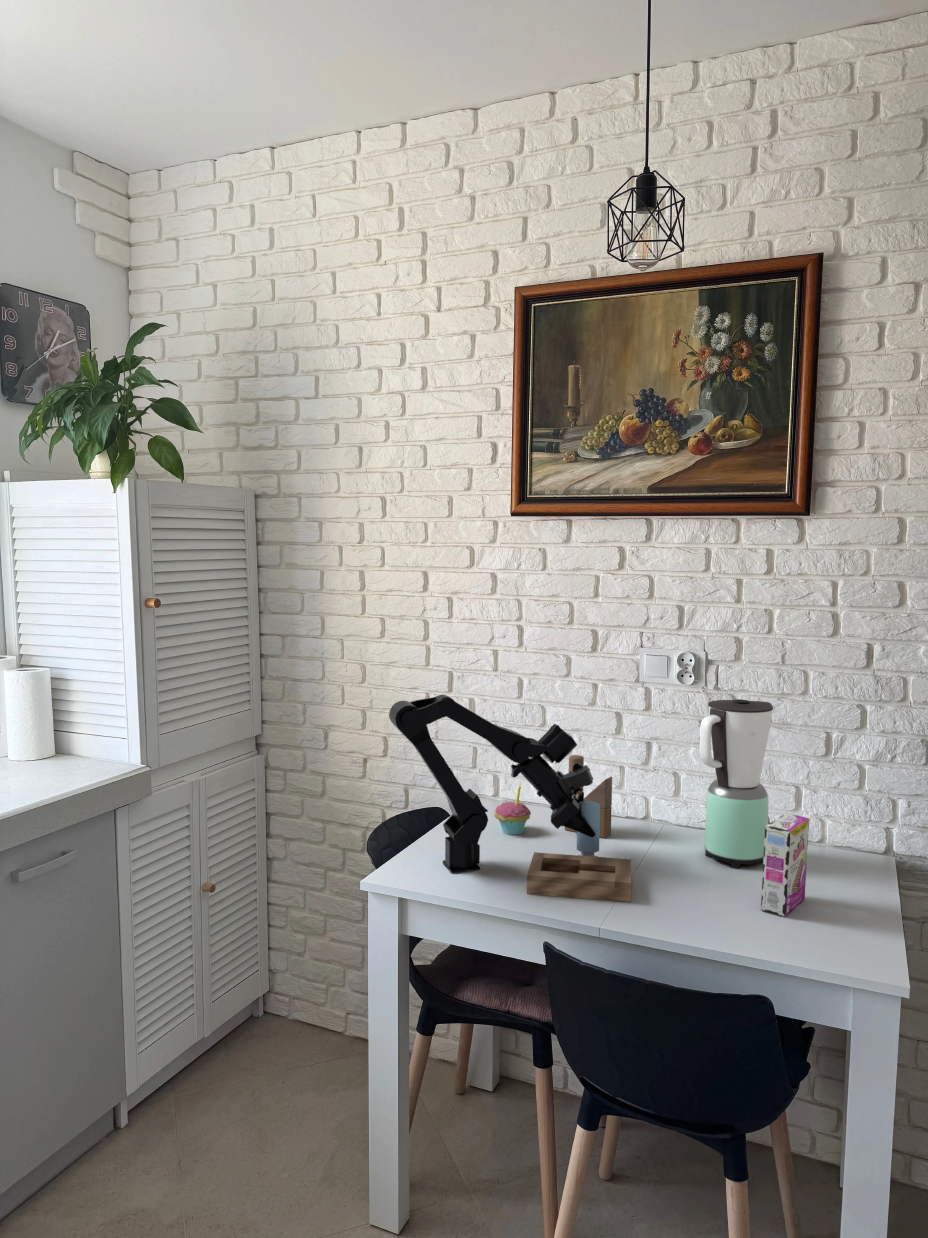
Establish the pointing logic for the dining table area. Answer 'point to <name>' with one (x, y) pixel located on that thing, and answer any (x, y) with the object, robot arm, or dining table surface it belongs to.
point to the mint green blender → (736, 780)
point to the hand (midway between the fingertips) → (594, 832)
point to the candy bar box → (784, 864)
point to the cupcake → (512, 816)
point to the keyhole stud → (593, 817)
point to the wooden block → (597, 799)
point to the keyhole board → (576, 889)
